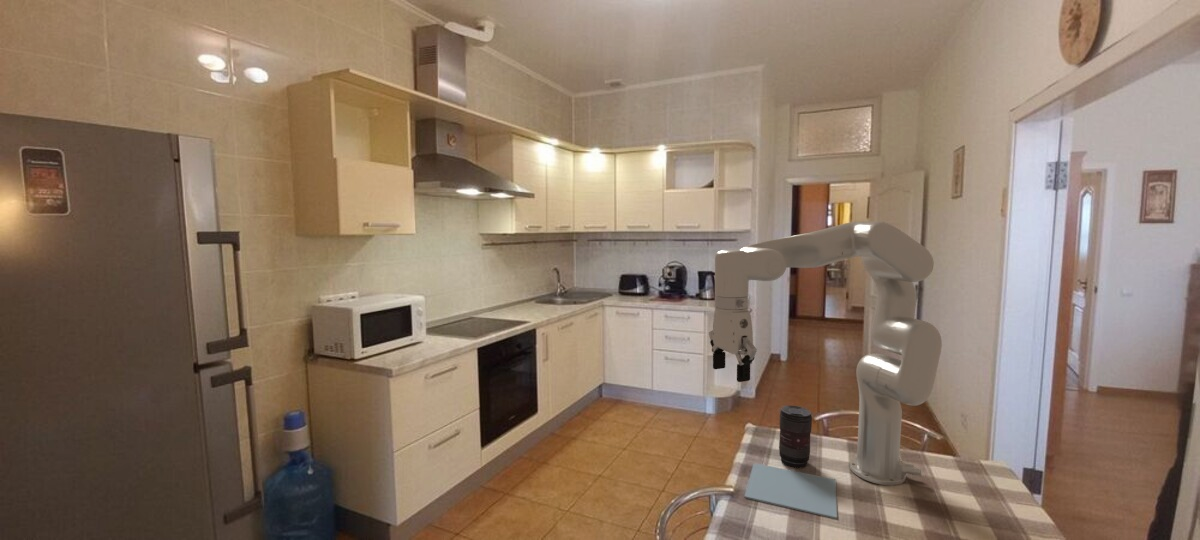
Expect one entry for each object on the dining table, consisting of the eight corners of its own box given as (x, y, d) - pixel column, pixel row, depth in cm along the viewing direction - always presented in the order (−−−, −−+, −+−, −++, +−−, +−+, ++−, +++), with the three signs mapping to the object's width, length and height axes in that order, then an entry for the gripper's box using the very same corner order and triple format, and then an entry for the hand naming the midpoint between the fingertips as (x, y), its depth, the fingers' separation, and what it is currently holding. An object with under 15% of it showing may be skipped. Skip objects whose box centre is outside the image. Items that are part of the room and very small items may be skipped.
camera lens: (813, 471, 125) (815, 417, 123) (781, 468, 126) (782, 415, 125) (806, 456, 133) (808, 405, 131) (776, 454, 134) (777, 403, 133)
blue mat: (835, 480, 120) (835, 479, 120) (836, 519, 105) (837, 517, 105) (753, 464, 129) (753, 463, 129) (744, 497, 113) (744, 496, 113)
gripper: (769, 308, 102) (768, 384, 104) (723, 296, 118) (723, 362, 120) (740, 310, 100) (739, 388, 102) (697, 298, 116) (697, 366, 118)
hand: (730, 374), depth 111 cm, fingers open, 9 cm apart
